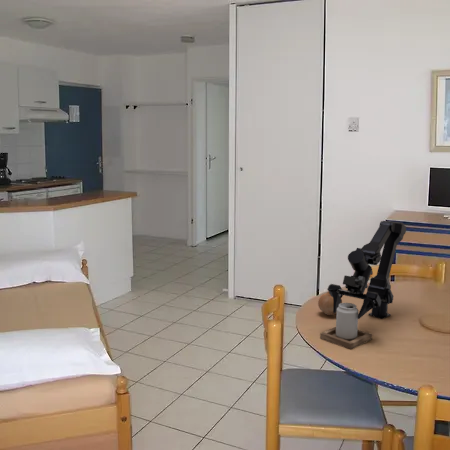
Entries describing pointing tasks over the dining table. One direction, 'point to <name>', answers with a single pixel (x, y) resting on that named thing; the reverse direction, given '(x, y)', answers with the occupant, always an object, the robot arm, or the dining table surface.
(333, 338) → the brown wooden tray
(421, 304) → the dining table surface
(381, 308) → the robot arm
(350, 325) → the can
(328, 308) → the onion
